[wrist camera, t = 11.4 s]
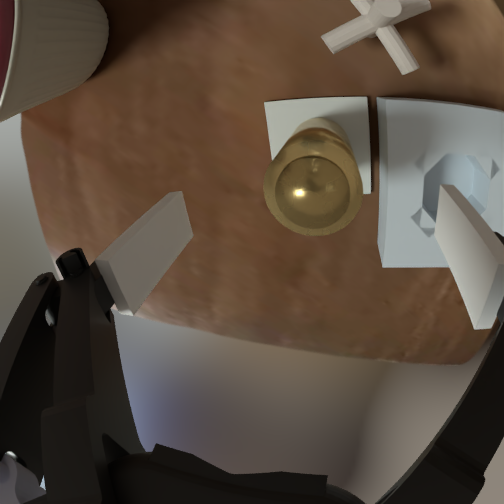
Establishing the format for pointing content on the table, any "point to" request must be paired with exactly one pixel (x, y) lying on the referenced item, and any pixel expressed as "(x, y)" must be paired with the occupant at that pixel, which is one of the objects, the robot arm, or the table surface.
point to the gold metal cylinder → (314, 180)
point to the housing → (434, 172)
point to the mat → (334, 108)
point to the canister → (47, 49)
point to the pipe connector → (379, 28)
